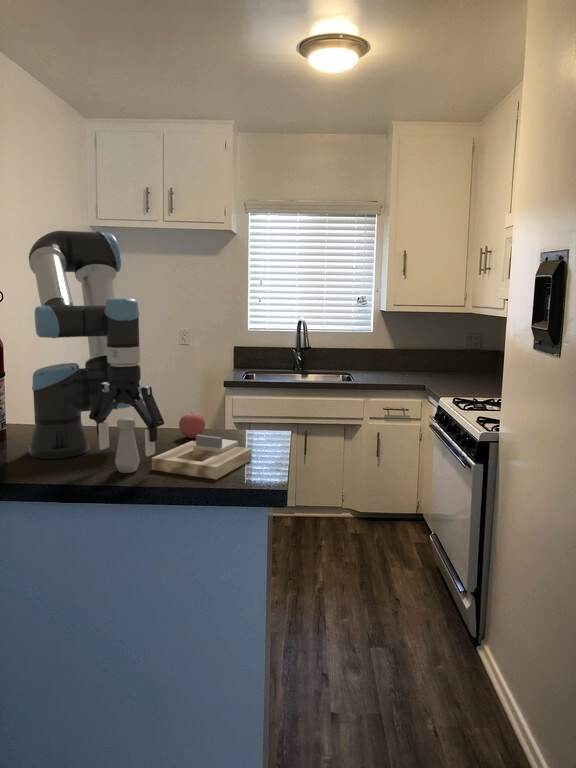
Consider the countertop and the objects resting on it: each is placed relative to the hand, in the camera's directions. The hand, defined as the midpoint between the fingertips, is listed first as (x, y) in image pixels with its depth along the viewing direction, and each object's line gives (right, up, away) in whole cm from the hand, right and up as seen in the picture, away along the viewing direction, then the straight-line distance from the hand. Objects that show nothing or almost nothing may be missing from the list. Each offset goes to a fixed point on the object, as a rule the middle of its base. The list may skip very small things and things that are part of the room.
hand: (127, 451), depth 151 cm
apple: (+11, 0, +33) cm, 34 cm away
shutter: (+20, 0, +11) cm, 23 cm away
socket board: (+18, -4, +6) cm, 19 cm away
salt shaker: (0, -5, +1) cm, 5 cm away
